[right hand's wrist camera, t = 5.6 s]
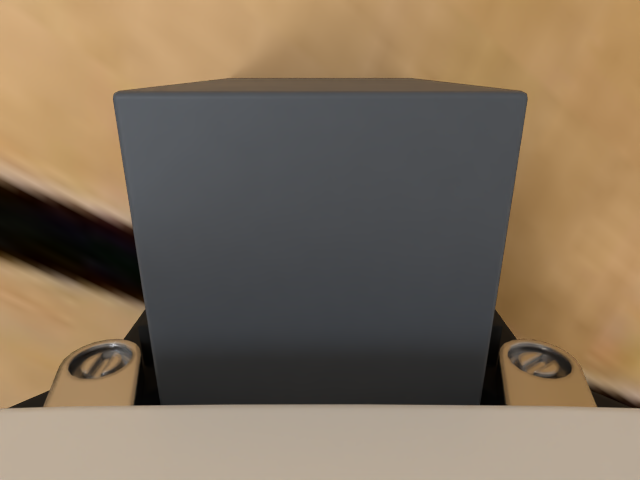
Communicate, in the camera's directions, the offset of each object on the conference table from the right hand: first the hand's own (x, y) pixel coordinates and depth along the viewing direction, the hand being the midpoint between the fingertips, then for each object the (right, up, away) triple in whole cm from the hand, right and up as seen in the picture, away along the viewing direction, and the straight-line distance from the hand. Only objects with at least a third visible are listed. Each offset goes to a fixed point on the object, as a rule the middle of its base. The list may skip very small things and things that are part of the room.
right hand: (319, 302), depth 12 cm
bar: (0, -23, +11) cm, 26 cm away
